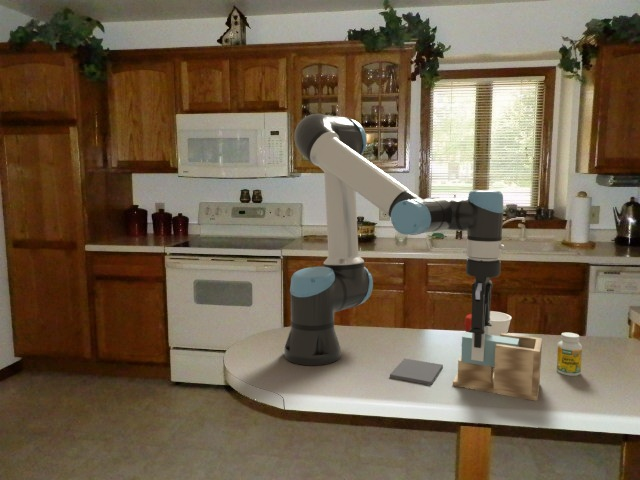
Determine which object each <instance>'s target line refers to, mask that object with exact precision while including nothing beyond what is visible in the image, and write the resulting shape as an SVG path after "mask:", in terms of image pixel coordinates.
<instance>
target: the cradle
mask: <svg viewBox="0 0 640 480" xmlns="http://www.w3.org/2000/svg"><path fill="white" fill-rule="evenodd" d="M500 336H502V337H509V338H517V339H519V347H516V346H509V345H502V344H496V345H495V367H491V366H485V365H478V364H472V363H466V362H461V356H460V357H459V359H458V361H457V365H458V366H457V373H456V375H455V376H454V379H453V380H452V387H453V386H454V387H458V386H459V387H460V388H463V387H465V388H464V389H469V388H470V390H474V389H475V391H480V390H481V391H480V392H485V391H486V393H491V392H492V393H491V394H496V393H497V394H498V395H502V396H507V397H513V398H519V399H526V400H530V401H535V402H537V401H538V397H539V390H540V384H541V383H540V382H541V381H540V380H541V363H542V349H543V346H542V345H543V338H541V337H535V336H527V335H518V334H512V333H507V334H505V333H501V334H500ZM459 387H458V388H459Z"/></svg>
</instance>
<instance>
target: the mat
mask: <svg viewBox="0 0 640 480" xmlns="http://www.w3.org/2000/svg"><path fill="white" fill-rule="evenodd" d="M443 366H444V365H443V364H441V363H434V362H430V361H429V362H428V361H422V360H416V359H411V358H410V359H409V358H405V357H404V358H403V360H401V361H400V362H399V364H398V365H397V366H396V367H395V368H394V369H393V370H391V373H389V378H391V379H395V380H396V379H397V380H402V381H405V382H406V381H407V382H412V383H416V384H417V383H418V384H424V385H429V386H432V384H433V383H434V382H435V380H437V377H438V376H439V374H440V373H441V371H442V369H443Z"/></svg>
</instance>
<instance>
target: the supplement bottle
mask: <svg viewBox="0 0 640 480" xmlns="http://www.w3.org/2000/svg"><path fill="white" fill-rule="evenodd" d="M580 337H581V336H580V335H579V334H578V333H574V332H562V333H561V336H560V339H561V340H560V341H558V343H557V353H556V354H557V356H556V357H557V358H556V371H557V372H558V373H559V374H561V375H565V376H569V377H575V376H580V374H581V373H582V357H583V346H582V344H581V343H580Z"/></svg>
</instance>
